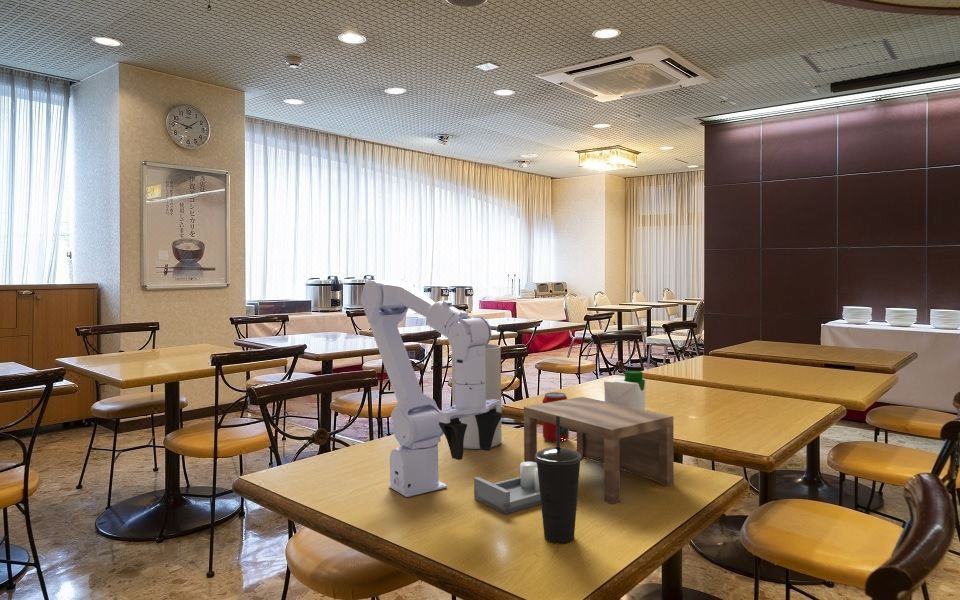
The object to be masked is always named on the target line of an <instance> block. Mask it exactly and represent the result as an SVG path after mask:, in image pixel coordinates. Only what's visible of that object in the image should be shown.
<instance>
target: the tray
mask: <svg viewBox="0 0 960 600" xmlns="http://www.w3.org/2000/svg"><path fill="white" fill-rule="evenodd" d="M519 466H520V469H519V470H520V471H519V472H520V473H519V476H516V477H513V478H510V479H506V480H505V479H504V480H502V481H497V482H494V483H493V482H490V481H488V480H486V479H483V478H482V477H479V476H477V477H474V478H473V489H474V491H473V492H474V496H473V497H474V498H473V499H475V500H476V501H478V502H480V503H483V504H484V505H487V506H489V507H490V508H492V509H494V510H497V511H498V512H500V513H503V514H504V515H509V514H512V513H515V512H520V511H522V510H525V509H529V508H532V507H535V506H539V505H540V506H541V498H540V488H539V479H538V469H537V463H536V462H524V461H522V462H521V463H519Z"/></svg>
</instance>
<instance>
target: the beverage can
mask: <svg viewBox="0 0 960 600" xmlns="http://www.w3.org/2000/svg"><path fill="white" fill-rule="evenodd" d="M566 399H568V397H567V394H566V393H564V392H546V393H544V397H543V399H542V404H543V403H548V402H554V401H560V400H566ZM569 432H570V429H569V428H566V427H562V426H560V443H562V440H563V442H565V441H564V439H566V440H568V439H569V437H570V433H569ZM542 438H543V439H544V440H546V441H547V440H548V441H547V442H549V441H550V442H551V443H556V425H555V424H552V423H548V422H544V421H542ZM561 438H563V439H561Z"/></svg>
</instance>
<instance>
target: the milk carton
mask: <svg viewBox="0 0 960 600" xmlns="http://www.w3.org/2000/svg"><path fill="white" fill-rule="evenodd" d="M624 371H625V370H624ZM646 381H647V380H646V378H643V371H641V370H626V371H625V372H624V377H623V376H622V377H620V376H613V377H611V378H609V379H606V380H605V381H604V382H603V387H604V388H603V389H604V390H603V391H604V401H605V402H610V403H614V404H619V405H624V406H628V407H633V408H638V409H642V410H646V385H647V383H646Z"/></svg>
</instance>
